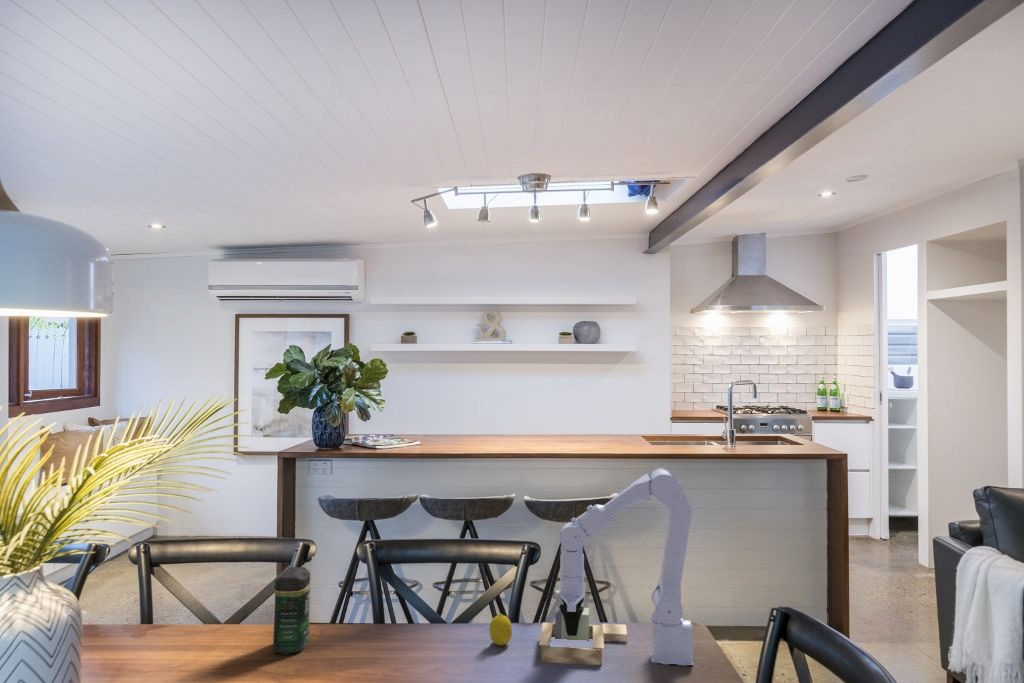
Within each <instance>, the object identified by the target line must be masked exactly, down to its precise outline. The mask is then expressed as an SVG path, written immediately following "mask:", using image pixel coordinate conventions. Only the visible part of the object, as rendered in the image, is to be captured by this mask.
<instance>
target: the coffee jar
mask: <svg viewBox="0 0 1024 683" xmlns="http://www.w3.org/2000/svg"><path fill="white" fill-rule="evenodd" d="M310 589H311V572H310V571H309V570H308V569H307V568H306V567H302V566H301V567H300V566H299V567H296V566H295V567H294V566H291V567H290V566H289V567H288V568H287V569H285V570H283V571H281V573H280V574H278V575H277V577H276V578H275V580H274V589H273V590H274V616H273V621H274V622H273V642H272V643H273V644H272V650H273V652H275V653H279V654H282V655H288V654H289V655H291V654H293V653H298V652H301V651H303V650H304V649H305V648H306V646H307V645H308V644H309V641H310V592H311V591H310Z"/></svg>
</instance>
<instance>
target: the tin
mask: <svg viewBox="0 0 1024 683" xmlns="http://www.w3.org/2000/svg"><path fill="white" fill-rule="evenodd" d="M554 614H555V615H554V618H555V620H554V622H555V639H567V640H587V641H589V625H590V620H589V619H590V608H589V607H584V610H583V613H582V614H581V617H580V620H579V625H578V631H577V635H576V636H568V635H567V631H566V625H565V620H564V617H563V614H562V612H561V610H560V606H555V612H554Z"/></svg>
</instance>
